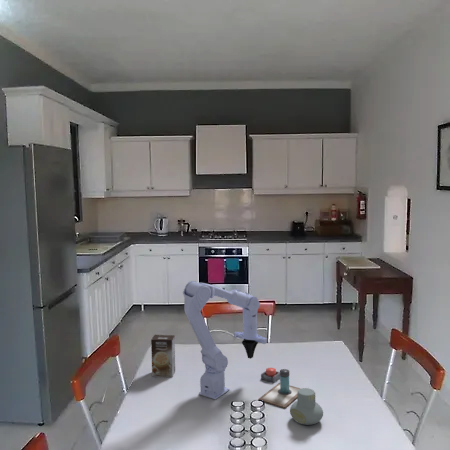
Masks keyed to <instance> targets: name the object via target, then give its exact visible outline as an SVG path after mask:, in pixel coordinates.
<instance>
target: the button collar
mask: <svg viewBox="0 0 450 450" xmlns="http://www.w3.org/2000/svg"><path fill="white" fill-rule="evenodd" d="M260 380H263V381H267V382H270V383H275V382H277V381H278V380H280V371H277V370H276V375H275V376H274V377H272V376H269V375H266V370H265V371H264V372H262V373H261V374H260Z"/></svg>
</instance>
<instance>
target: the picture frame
mask: <svg viewBox="0 0 450 450" xmlns="http://www.w3.org/2000/svg"><path fill="white" fill-rule="evenodd" d="M299 389H302V387H301V388H300V387H296V386H293V385H290V384H289V393H287V394H284V393H281V392H280V382H279V383H277V384H276V385H275V386H273V387H272V388H270V389H269V390H268V391H266V392H265V393H264V394H263V395H262V396H260V397H259V398H258V401H259V400H263V401H264V402H263V403H266V404H270V405H272V406H275V407H278V408H281V409H287V408H288V407H289V406H290V405H292V404H293V403H294V402H295V401H297V392H298V390H299Z"/></svg>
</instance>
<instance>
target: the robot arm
mask: <svg viewBox="0 0 450 450" xmlns="http://www.w3.org/2000/svg"><path fill="white" fill-rule="evenodd" d="M182 295H183V297H184V302H183V303H184V304H183V305H184V309H183V311H184V313H185V316H186V318H187V320H188V322H189V325H190V326H191V329H192V330H193V333H194V335H195V337H196V339H197V341H198V343H199V346H200V347H201V350H200V353H201V362H202V363H203V364H204V368H205V370H204V373H203V374H202V375H201V377H200V381H199V382H200V384H199V385H200V392H198V394H199V395H201V396H204V397H206V398H209V399H212V400H216V399H218V398H219V397H221V396H222V395H224V394H225V393H227V392H228V391H230V388H229V387H225V386H226V385H225V383H226V382H225V381H226V379H225V378H226V377H225V371H226V369H227V367H228V364H229V360H228V357H227V356H226V355H224V354H223V352H222V350H221V349H220V348H219V347H218V346H217V345H216V342H215V340H214V338H213V336H212V334H211V331H210V330H209V327H208V325H207V323H206V321H205V319H204V316H203V315H202V313H201V312H202V311H201V310H203V308H204V307H205V306H206V304H207V303H208V302H209V300H210V299H212V298H214V296H215V297H218V298H220V299H221V298H222V299H225V300H226V301H227V303H228V304H230V305H233V306H236V307H238V308H242V331H234V333H233V338H235V339H236V338H237V339H243V340H242V341H241V344H242V345H243V347H244V349H245V352H246V356H247V359H253V358H254V353H255V352H256V351H255V350H256V348H257V346H258V344H259V343H261V344H263V345H265V344H267V343H268V338H267V337H265V336H261V335H260V334H258V310H259V309H260V306H261V302H260V301H259V298H258V297H257V296H255V295H251V294H250V293H248V292H242V291H241V290H240V289H238V288H235V289H231V290H226V289H223V288H220V287H218V286H216V285H212V284H209V283H205V282H197V281H196V280H195V281H194V280H192V281H189V282H187V284H185V286H184V289H183V291H182Z"/></svg>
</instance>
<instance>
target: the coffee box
mask: <svg viewBox="0 0 450 450" xmlns="http://www.w3.org/2000/svg"><path fill="white" fill-rule="evenodd" d="M175 336H176V335H174V334H172V335H171V334H170V335H169V334H154V335H153V336H152V338H151V340H150V344H151V346H150V347H151V351H150V352H151V377H155V378H156V377H160V378H161V377H162V378H173V377H174V375H175V373H176V337H175Z"/></svg>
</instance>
